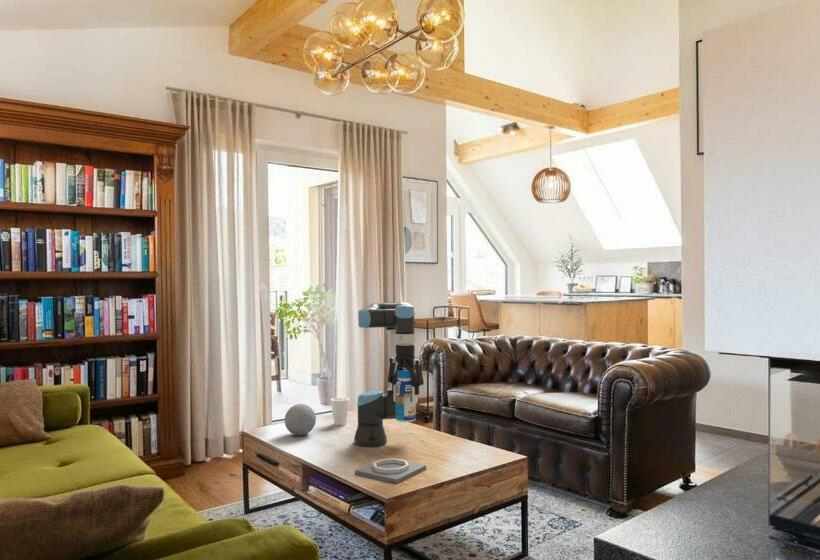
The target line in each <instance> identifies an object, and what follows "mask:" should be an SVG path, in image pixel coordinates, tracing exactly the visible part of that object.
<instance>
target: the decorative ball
mask: <svg viewBox="0 0 820 560" xmlns="http://www.w3.org/2000/svg"><path fill="white" fill-rule="evenodd" d="M316 421H317V417H316V413H315V411H314V409H313V407H310V405H307V404H304V403H297V404H294V405H292V406H291V407H290V408H289V409H288V410H287V411H286V413H285V416H284V425H285V427H286V429H287V431H288V432H289V433H291V434H292V435H294V436H305V435H308V434H309V433H310V432H311V431H312V430H313V429H314V427H315V426H316V423H317V422H316Z"/></svg>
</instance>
